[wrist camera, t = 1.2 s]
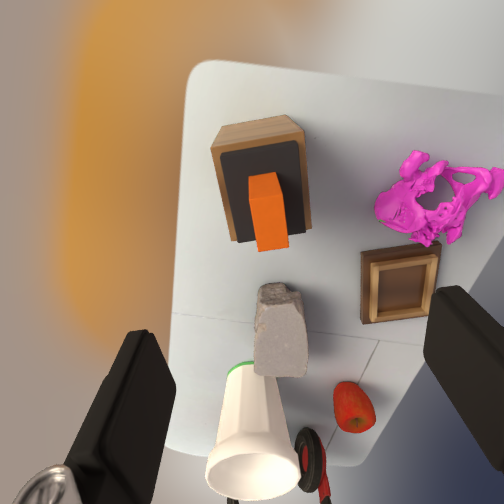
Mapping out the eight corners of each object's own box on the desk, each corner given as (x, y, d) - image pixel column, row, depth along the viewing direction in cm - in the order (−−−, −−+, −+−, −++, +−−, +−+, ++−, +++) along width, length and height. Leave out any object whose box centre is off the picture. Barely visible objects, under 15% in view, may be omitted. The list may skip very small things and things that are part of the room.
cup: (284, 401, 56) (296, 501, 43) (216, 401, 56) (206, 501, 43) (290, 352, 50) (307, 451, 37) (214, 352, 50) (202, 451, 37)
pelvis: (362, 220, 39) (382, 245, 33) (393, 142, 34) (423, 155, 29) (448, 236, 40) (482, 262, 34) (490, 163, 36) (537, 180, 30)
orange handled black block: (220, 152, 23) (212, 176, 17) (295, 139, 23) (311, 159, 17) (238, 235, 26) (235, 277, 21) (303, 225, 26) (318, 265, 20)
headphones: (224, 436, 61) (216, 577, 44) (235, 405, 57) (231, 550, 39) (308, 447, 64) (331, 585, 46) (325, 418, 59) (358, 561, 42)
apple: (361, 370, 53) (377, 412, 46) (365, 393, 56) (380, 435, 49) (325, 378, 53) (335, 419, 47) (330, 399, 56) (341, 441, 50)
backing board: (360, 251, 41) (366, 260, 39) (437, 240, 41) (446, 248, 39) (360, 319, 47) (365, 329, 45) (427, 310, 46) (435, 320, 44)
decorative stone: (265, 355, 51) (324, 339, 49) (266, 393, 45) (332, 376, 43) (227, 288, 44) (292, 266, 42) (221, 321, 38) (297, 297, 36)
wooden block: (221, 126, 33) (210, 147, 23) (285, 114, 33) (304, 130, 22) (235, 196, 37) (231, 241, 27) (293, 186, 37) (311, 229, 26)
